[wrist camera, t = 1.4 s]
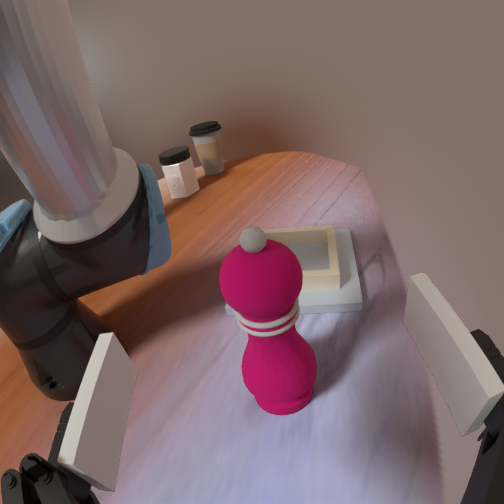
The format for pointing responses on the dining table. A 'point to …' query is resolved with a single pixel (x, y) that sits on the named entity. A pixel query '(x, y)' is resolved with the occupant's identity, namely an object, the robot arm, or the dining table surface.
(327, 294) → the board
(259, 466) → the dining table surface
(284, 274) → the pepper mill
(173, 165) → the jar
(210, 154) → the coffee cup
